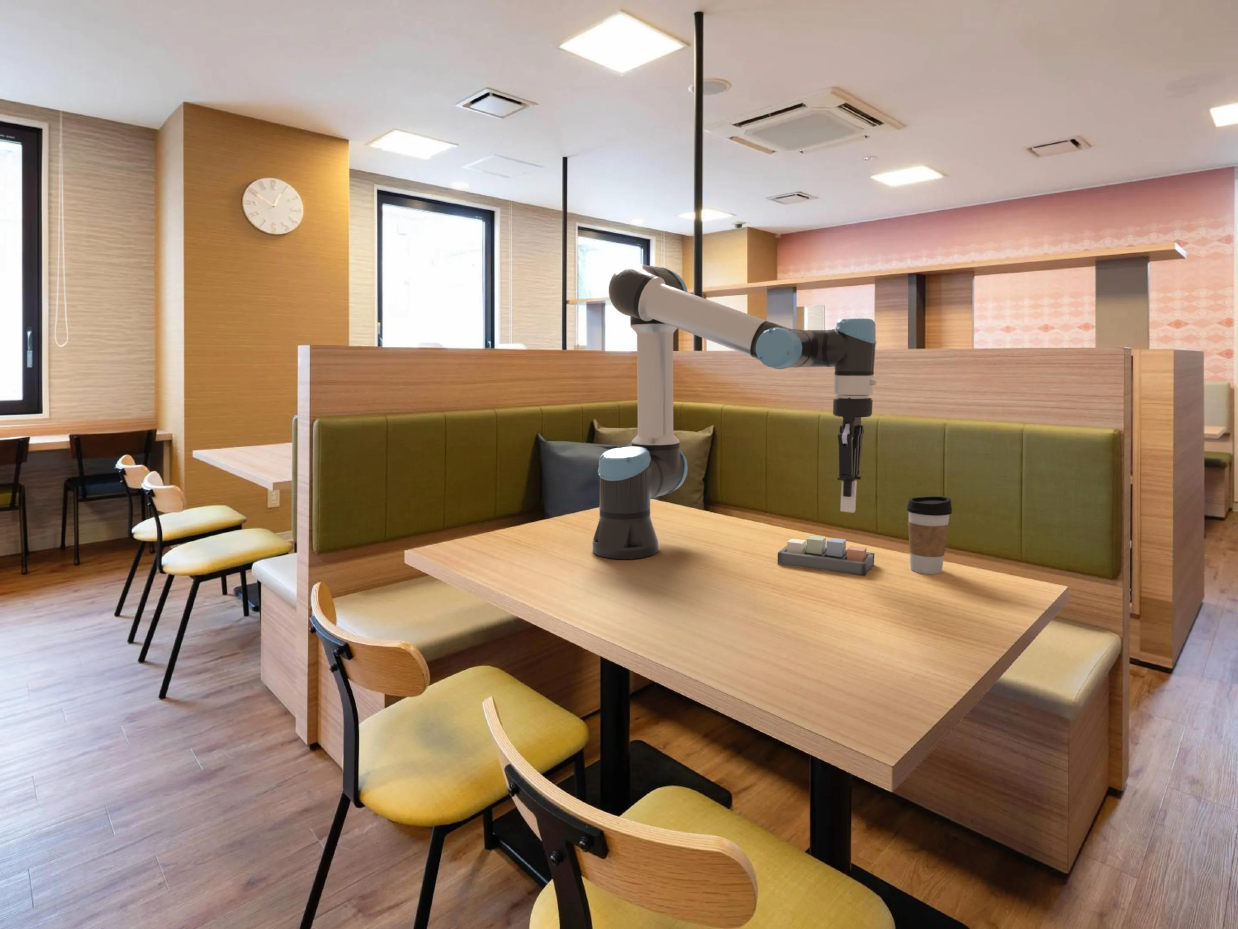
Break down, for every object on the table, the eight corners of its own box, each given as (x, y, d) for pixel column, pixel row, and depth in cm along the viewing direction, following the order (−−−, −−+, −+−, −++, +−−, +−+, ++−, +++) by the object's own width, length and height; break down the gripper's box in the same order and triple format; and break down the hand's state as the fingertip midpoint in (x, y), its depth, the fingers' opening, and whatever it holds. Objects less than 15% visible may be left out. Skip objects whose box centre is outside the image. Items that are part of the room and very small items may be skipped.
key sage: (806, 552, 147) (806, 538, 147) (810, 548, 150) (810, 535, 150) (821, 554, 146) (821, 540, 145) (825, 550, 148) (825, 537, 148)
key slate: (826, 555, 145) (826, 541, 145) (830, 551, 148) (830, 537, 148) (841, 557, 144) (842, 543, 143) (845, 553, 146) (846, 539, 146)
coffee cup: (953, 577, 137) (957, 503, 135) (908, 575, 139) (911, 501, 137) (942, 565, 146) (946, 494, 143) (900, 563, 147) (903, 493, 145)
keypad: (777, 564, 148) (777, 552, 148) (790, 553, 156) (790, 542, 155) (865, 576, 139) (865, 564, 139) (874, 564, 147) (874, 553, 146)
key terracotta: (846, 563, 143) (847, 549, 143) (850, 559, 146) (850, 545, 146) (862, 565, 142) (863, 551, 141) (866, 561, 144) (866, 547, 144)
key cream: (786, 555, 150) (787, 541, 149) (791, 551, 152) (791, 538, 152) (801, 557, 148) (801, 543, 148) (805, 553, 151) (806, 540, 150)
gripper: (865, 399, 132) (859, 519, 136) (878, 395, 143) (872, 507, 147) (826, 398, 136) (821, 515, 140) (841, 394, 147) (836, 503, 151)
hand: (847, 511), depth 143 cm, fingers closed
